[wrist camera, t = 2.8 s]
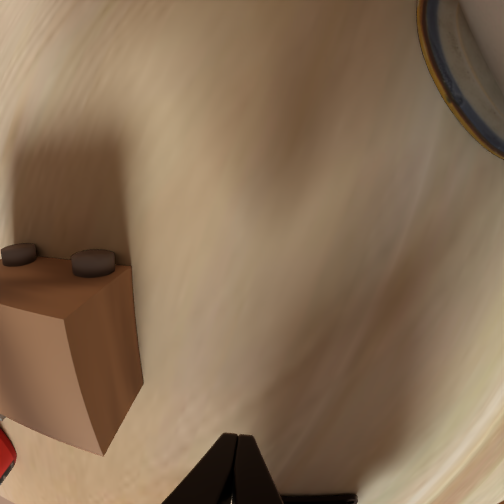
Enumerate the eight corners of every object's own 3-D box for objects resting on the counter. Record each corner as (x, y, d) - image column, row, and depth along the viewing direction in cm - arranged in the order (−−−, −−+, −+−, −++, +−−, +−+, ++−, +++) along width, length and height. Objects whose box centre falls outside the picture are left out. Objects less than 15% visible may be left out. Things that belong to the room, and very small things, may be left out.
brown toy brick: (130, 252, 12) (60, 299, 8) (144, 392, 14) (107, 465, 9) (12, 241, 13) (-60, 272, 8) (37, 364, 15) (-12, 414, 10)
